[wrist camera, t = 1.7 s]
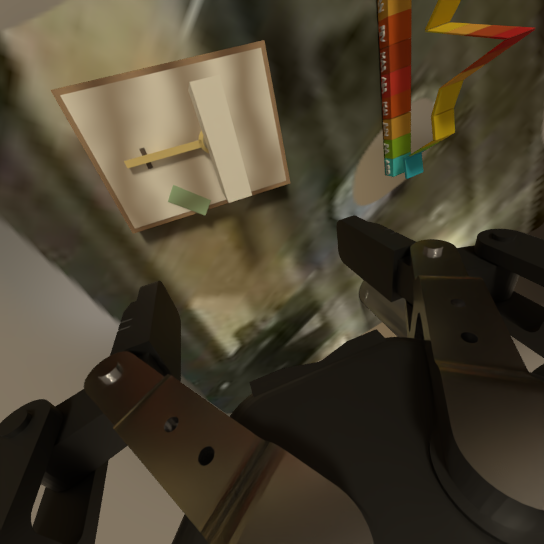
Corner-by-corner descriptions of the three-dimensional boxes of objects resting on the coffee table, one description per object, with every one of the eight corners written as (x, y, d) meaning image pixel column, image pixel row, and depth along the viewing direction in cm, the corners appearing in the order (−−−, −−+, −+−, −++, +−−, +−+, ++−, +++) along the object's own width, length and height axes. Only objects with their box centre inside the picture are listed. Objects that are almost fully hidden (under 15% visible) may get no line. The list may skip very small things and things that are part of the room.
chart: (365, -166, 22) (594, -538, 10) (396, -175, 23) (656, -544, 10) (383, 175, 39) (478, 197, 26) (401, 168, 39) (503, 185, 27)
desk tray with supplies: (257, 47, 27) (264, 39, 25) (284, 183, 35) (291, 187, 33) (62, 93, 24) (49, 89, 22) (138, 230, 32) (135, 238, 30)
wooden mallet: (209, 92, 25) (224, 73, 16) (233, 175, 30) (255, 194, 21) (103, 119, 24) (57, 114, 15) (145, 202, 28) (128, 234, 19)
